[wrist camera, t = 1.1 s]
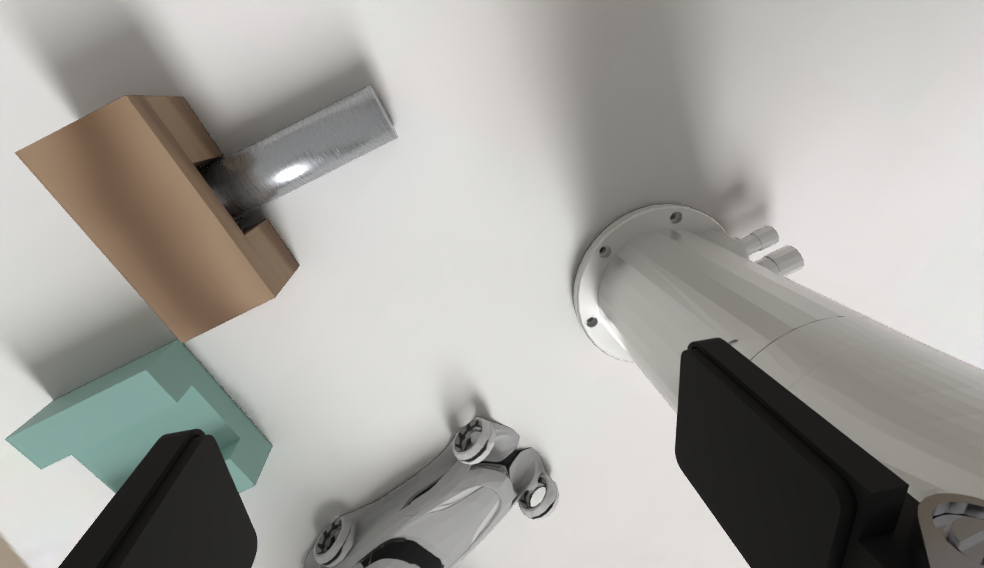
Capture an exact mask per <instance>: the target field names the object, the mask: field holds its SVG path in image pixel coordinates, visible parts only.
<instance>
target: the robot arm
mask: <svg viewBox="0 0 984 568" xmlns="http://www.w3.org/2000/svg"><path fill="white" fill-rule="evenodd" d="M672 214H673V215H672ZM671 215H672V217H671ZM670 217H671V218H670ZM778 241H779V236H778V234H777V232H776V230H775V229H774V228H773V227H771V226H765V227H763V228H761V229H759V230H757V231H754V232H752V233H750V235H748V236H746V237H744V238H742V239H739V238H731V237H729V235H728V234H727V233H726V231H725V230H724V229H723V227H722V226H721V225H720V224H719V223H718V222H716V221H715V220H714V219H713V218H711V217H710V216H708V215H706V214H704V213H702V212H700V211H698V210H695V209H692V208H689V207H686V206H683V205H675V204H660V205H651V206H648V207H644V208H640V209H637V210H635V211H633V212H630V213H628V214H626V215H624V216H622V217H621V218H619V219H618V220H616V221H615V222H614V223H612V224H611V225H609V226H608V227H607V228H606V229H605V230H604V231H603V232H602V233H601V234H600V235H599V236H598V237H597V238H596V239H595V240H594V241H593V243H592V244H591V246H590V247H589V249H588V250H587V251H586V253H585V255H584V257H583V259H582V261H581V263H580V266H579V268H578V271H577V275H576V279H575V283H574V296H573V299H574V306H575V312H576V315H577V318H578V321H579V323H580V325H581V327H582V329H583V330H584V332H585V333H586V335H587V336H588V337H589V339H590V340H591V341H592V342H593V344H594V345H595V346H596V347H598V348H599V349H600V350H602V351H603V352H604V353H605V354H608V355H610V356H612V357H614V358H616V359H619V360H623V361H627V362H632V363H636V364H637V366H638V367H639V368H640V369H641V371H642V372H643V373H644V374H645V376H646V377H647V378H648V379H649V380H650V382H651V383H652V384H653V385H654V387H655V388H656V389H657V390H658V391H659V393H660V394H661V395H662V396H663V398H664V399H665V400H666V401H667V402H668V404H669V405H670V406H671V407H672V409H673V410H674V411H675V412H676V413H677V426H676V443H675V455H676V459H677V462H678V464H679V467H680V468H681V470H682V471H683V473H684V474H685V476H686V477H687V478H688V480H689V481H690V483H691V484H692V486H693V487H694V488H695V490H696V491H697V493H698V494H699V495H700V497H701V498H702V500H703V501H704V502H705V504H706V505H707V507H708V508H709V509H710V511H711V512H712V514H713V515H714V516H715V518H716V519H717V521H718V522H719V524H720V525H721V526H722V528H723V529H724V531H725V532H726V533H727V535H728V536H729V538H730V539H731V540H732V542H733V543H734V545H735V546H736V547H737V549H738V550H739V552H740V553H741V554H742V556H743V557H744V559H745V560H746V562H747V563H748V564H749V566H750V567H751V568H984V370H982V369H980V368H978V367H975V366H973V365H971V364H969V363H966V362H964V361H962V360H960V359H957V358H955V357H953V356H950V355H948V354H946V353H944V352H941V351H939V350H937V349H935V348H932V347H930V346H928V345H926V344H924V343H922V342H920V341H917V340H915V339H913V338H911V337H909V336H907V335H905V334H903V333H901V332H898V331H896V330H894V329H892V328H890V327H888V326H886V325H884V324H882V323H880V322H877V321H875V320H873V319H871V318H869V317H867V316H865V315H863V314H861V313H859V312H857V311H855V310H852V309H850V308H848V307H846V306H844V305H842V304H840V303H838V302H836V301H834V300H832V299H830V298H827V297H825V296H823V295H821V294H819V293H817V292H815V291H813V290H811V289H809V288H807V287H805V286H802V285H800V284H798V283H796V282H794V281H792V280H790V279H788V278H786V277H785V276H787V275H790V274H792V273H794V272H796V271H798V270H800V269H802V267H803V266H804V263H803V258H802V256H801V254H800V253H799V252H798V251H797V249H795V248H794V247H792V246H788V245H787V246H784V247H782V248H780V249H778V250H776V251H774V252H772V253H770V254H768V255H766V256H764V257H763V258H762V259H760V260H758V261H756V262H752V261H750V260H748V259H749V255H750V254H753V253H755V252H757V251H761V250H763V249H765V248H767V247H769V246H772V245H774V244H776V243H777V242H778ZM602 247H604V248H603V250H602V251H600V249H601V248H602ZM599 251H600V252H599ZM590 317H591V318H590ZM589 318H590V319H589ZM256 552H257V536H256V532H255V530H254V528H253V525H252V523H251V521H250V518H249V516H248V514H247V511H246V509H245V507H244V504H243V502H242V500H241V497H240V495H239V493H238V491H237V488H236V486H235V484H234V481H233V479H232V477H231V474H230V472H229V470H228V467H227V465H226V463H225V460H224V458H223V456H222V453H221V451H220V449H219V446H218V444H217V442H216V440H215V438H214V437H213V436H212V435H209V434H208V435H206V434H205V433H204V432H203V431H202V430H201V429H191V430H186V431H180V432H174V433H169V434H165V435H162V436H161V437H160V438H159V439H158V440H157V442H156V443H155V444H154V445H153V447H152V448H151V449H150V451H149V452H148V453H147V454H146V456H145V457H144V458H143V460H142V461H141V462H140V463H139V465H138V466H137V467H136V468H135V470H134V471H133V472H132V474H131V475H130V476H129V477H128V479H127V480H126V481H125V483H124V484H123V485H122V486H121V488H120V489H119V490H118V492H117V493H116V494H115V495H114V497H113V498H112V499H111V501H110V502H109V503H108V504H107V506H106V507H105V508H104V510H103V511H102V512H101V513H100V515H99V516H98V517H97V519H96V520H95V521H94V522H93V524H92V525H91V526H90V528H89V529H88V530H87V531H86V533H85V534H84V535H83V537H82V538H81V539H80V540H79V542H78V543H77V544H76V546H75V547H74V548H73V549H72V551H71V552H70V553H69V555H68V556H67V557H66V558H65V560H64V561H63V562H62V564H61V565H60V566H59V567H58V568H251V567H252V564H253V561H254V559H255V556H256Z"/></svg>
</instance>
